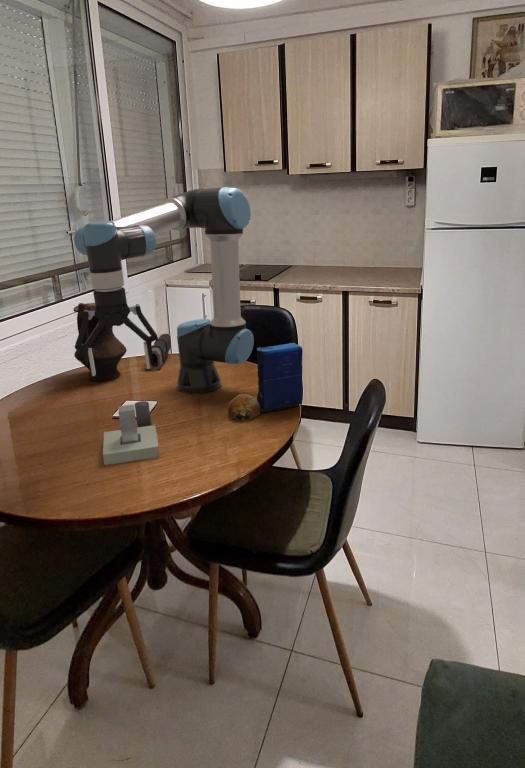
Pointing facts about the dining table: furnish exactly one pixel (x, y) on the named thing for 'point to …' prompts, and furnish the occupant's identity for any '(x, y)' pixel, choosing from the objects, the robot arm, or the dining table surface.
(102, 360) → the jug
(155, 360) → the tube
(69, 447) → the dining table surface
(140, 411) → the round peg
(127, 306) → the robot arm
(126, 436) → the square peg
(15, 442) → the dining table surface
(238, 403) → the bread roll
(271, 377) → the book
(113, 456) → the socket board
